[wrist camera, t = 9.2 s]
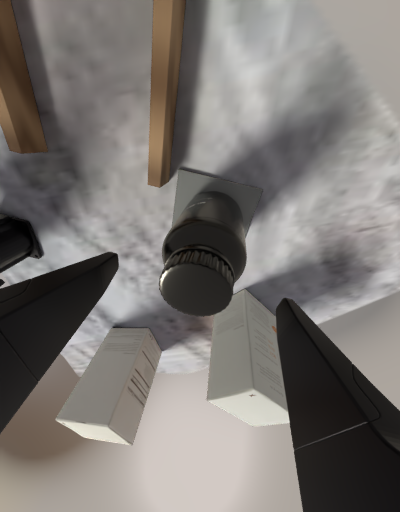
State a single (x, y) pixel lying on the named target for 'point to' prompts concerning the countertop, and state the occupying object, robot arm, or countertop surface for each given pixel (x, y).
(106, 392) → the supplement box
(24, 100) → the frame
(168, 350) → the countertop surface
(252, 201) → the slate mat
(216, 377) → the small box
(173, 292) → the supplement bottle
